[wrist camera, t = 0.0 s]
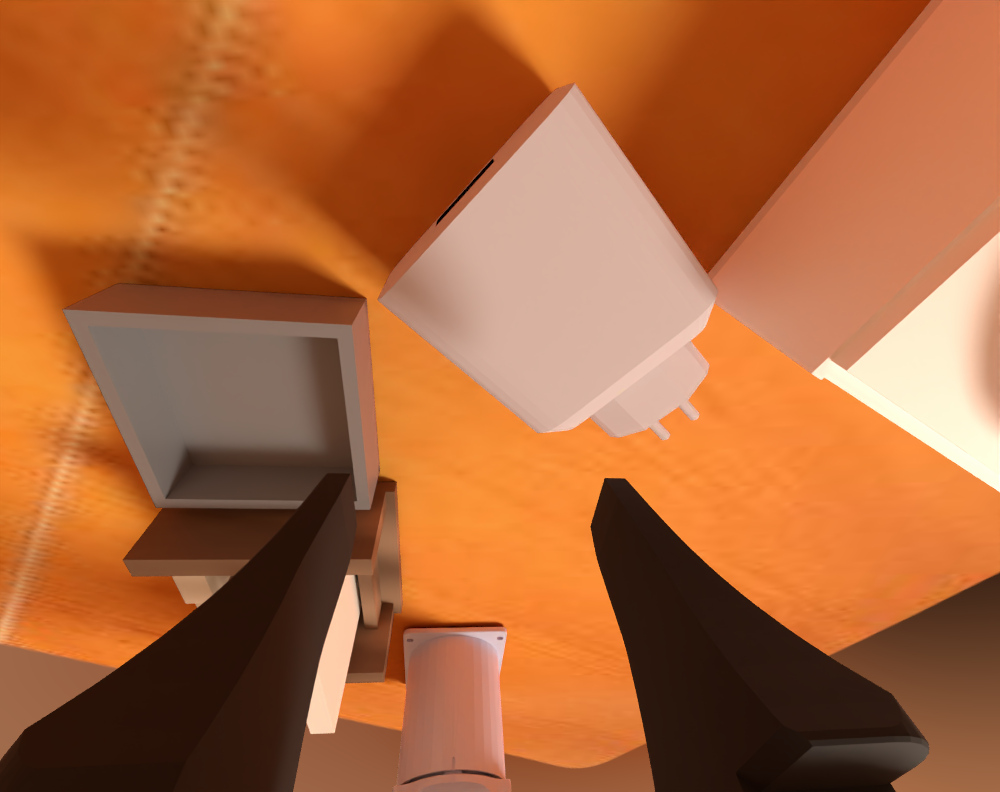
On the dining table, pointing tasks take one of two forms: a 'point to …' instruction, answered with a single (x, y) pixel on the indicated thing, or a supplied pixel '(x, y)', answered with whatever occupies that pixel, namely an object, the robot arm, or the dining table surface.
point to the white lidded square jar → (895, 242)
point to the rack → (243, 532)
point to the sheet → (335, 660)
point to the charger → (562, 282)
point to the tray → (235, 391)
